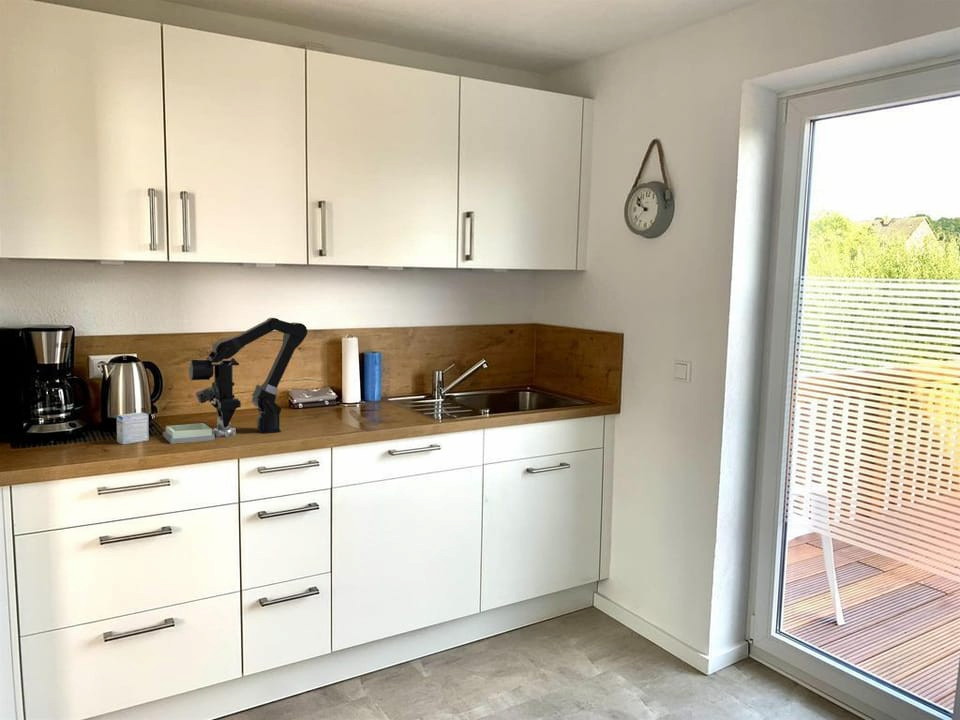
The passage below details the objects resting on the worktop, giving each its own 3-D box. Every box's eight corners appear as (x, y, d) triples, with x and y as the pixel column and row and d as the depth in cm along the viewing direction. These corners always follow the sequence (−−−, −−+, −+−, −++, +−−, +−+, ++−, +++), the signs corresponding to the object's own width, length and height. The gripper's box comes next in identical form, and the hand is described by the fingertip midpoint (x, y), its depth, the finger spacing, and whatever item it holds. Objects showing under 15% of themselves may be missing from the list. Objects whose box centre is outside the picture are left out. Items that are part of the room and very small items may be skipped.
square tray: (205, 432, 236) (205, 422, 235) (214, 439, 225) (214, 429, 225) (163, 436, 228) (163, 425, 228) (171, 443, 218) (170, 432, 217)
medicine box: (142, 439, 224) (141, 412, 223) (149, 441, 221) (148, 413, 220) (116, 442, 218) (116, 415, 217) (123, 444, 215) (122, 416, 214)
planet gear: (232, 432, 238) (232, 414, 237) (238, 436, 232) (238, 418, 231) (209, 434, 234) (209, 416, 233) (215, 438, 228) (215, 419, 227)
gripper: (191, 377, 234) (191, 423, 236) (204, 383, 219) (205, 433, 220) (225, 375, 241) (226, 420, 242) (240, 381, 225) (241, 430, 227)
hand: (223, 426), depth 233 cm, fingers closed on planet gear, 4 cm apart
